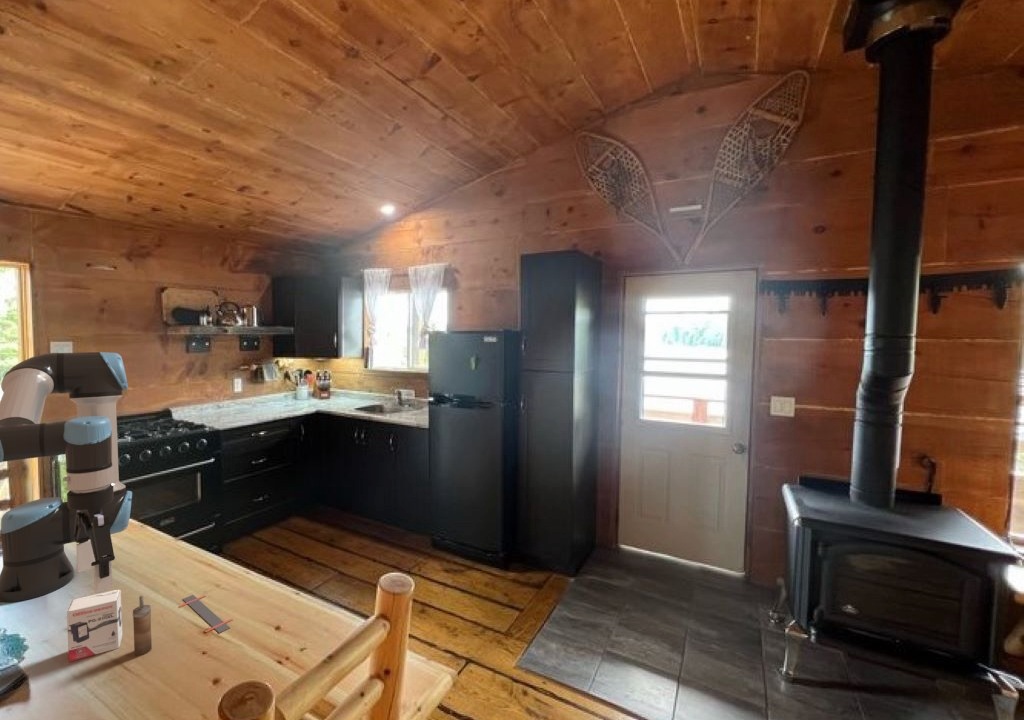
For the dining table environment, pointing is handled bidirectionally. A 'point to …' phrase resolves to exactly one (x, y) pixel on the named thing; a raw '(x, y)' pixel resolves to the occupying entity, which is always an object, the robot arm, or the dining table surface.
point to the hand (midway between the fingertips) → (94, 579)
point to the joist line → (206, 614)
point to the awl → (142, 628)
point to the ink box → (94, 624)
